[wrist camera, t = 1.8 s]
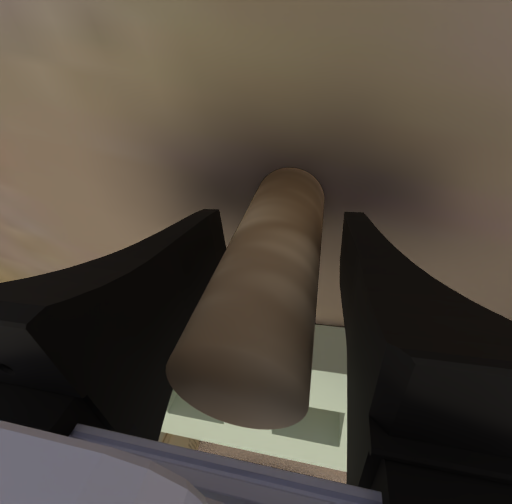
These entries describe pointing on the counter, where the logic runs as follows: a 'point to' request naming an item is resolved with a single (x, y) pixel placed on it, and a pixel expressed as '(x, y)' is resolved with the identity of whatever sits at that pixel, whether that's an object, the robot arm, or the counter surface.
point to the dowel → (258, 313)
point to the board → (293, 437)
